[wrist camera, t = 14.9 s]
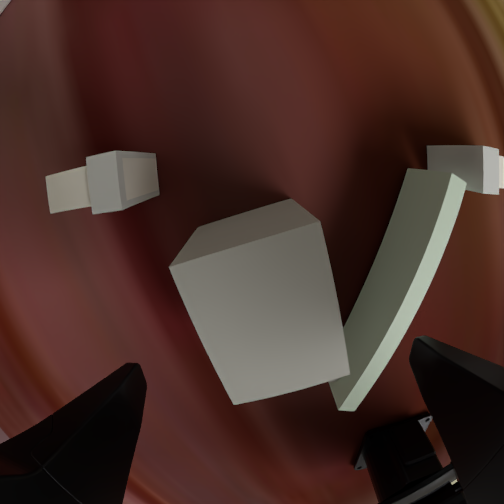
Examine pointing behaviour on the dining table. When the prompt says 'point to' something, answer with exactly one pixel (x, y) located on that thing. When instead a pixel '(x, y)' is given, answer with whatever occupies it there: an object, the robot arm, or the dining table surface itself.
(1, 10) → the medicine bottle
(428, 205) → the pale green curved bar
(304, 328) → the grey cube block
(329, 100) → the dining table surface
